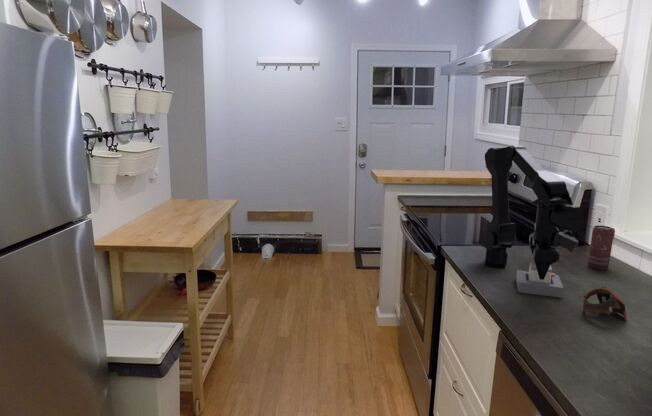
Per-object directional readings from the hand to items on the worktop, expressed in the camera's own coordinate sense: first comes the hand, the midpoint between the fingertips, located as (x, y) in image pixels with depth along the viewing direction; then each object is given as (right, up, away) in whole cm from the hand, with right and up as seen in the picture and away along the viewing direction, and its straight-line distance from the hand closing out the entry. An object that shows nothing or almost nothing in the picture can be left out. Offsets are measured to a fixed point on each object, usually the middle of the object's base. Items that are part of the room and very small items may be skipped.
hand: (539, 273), depth 134 cm
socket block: (0, -4, +1) cm, 4 cm away
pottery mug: (+9, -9, -15) cm, 20 cm away
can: (+29, -1, +19) cm, 35 cm away
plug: (0, -4, +1) cm, 5 cm away
